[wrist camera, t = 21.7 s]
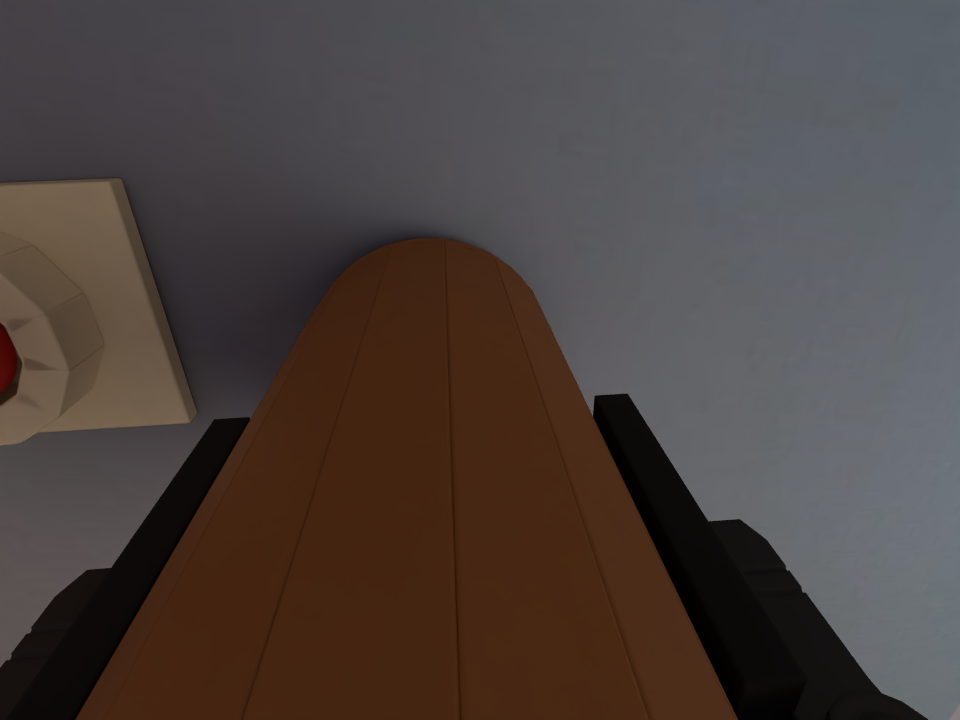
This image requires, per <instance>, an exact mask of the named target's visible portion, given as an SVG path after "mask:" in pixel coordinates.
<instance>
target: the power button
mask: <svg viewBox="0 0 960 720" xmlns="http://www.w3.org/2000/svg"><path fill="white" fill-rule="evenodd" d="M16 370H17V355H16V351H15V348H14V345H13V343H12V340H11V339H10V337H9V335H8V333H7V332H6V331H5V329H4V328H3V326H2V325H1V324H0V393H2V392H3V391H4V390H5V389H6V388H8V386H9V385H10V384H11V383H12V381H13V379H14V377H15V374H16Z"/></svg>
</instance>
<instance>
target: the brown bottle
mask: <svg viewBox="0 0 960 720" xmlns="http://www.w3.org/2000/svg"><path fill="white" fill-rule="evenodd" d="M76 720H738V719H737V717H736V715H735V713H734V710H733V708H732V706H731V704H730V702H729V700H728V698H727V696H726V694H725V692H724V690H723V687H722V685H721V683H720V681H719V679H718V677H717V675H716V673H715V671H714V669H713V667H712V665H711V662H710V660H709V658H708V656H707V654H706V652H705V650H704V648H703V646H702V644H701V642H700V639H699V637H698V635H697V633H696V631H695V629H694V627H693V625H692V623H691V621H690V619H689V616H688V614H687V612H686V610H685V608H684V606H683V604H682V602H681V600H680V598H679V596H678V594H677V591H676V589H675V587H674V585H673V583H672V581H671V579H670V577H669V575H668V573H667V571H666V568H665V566H664V564H663V562H662V560H661V558H660V556H659V554H658V552H657V550H656V548H655V545H654V543H653V541H652V539H651V537H650V535H649V533H648V531H647V529H646V527H645V525H644V523H643V520H642V518H641V516H640V514H639V512H638V510H637V508H636V506H635V504H634V502H633V500H632V497H631V495H630V493H629V491H628V489H627V487H626V485H625V483H624V481H623V479H622V477H621V474H620V472H619V470H618V468H617V466H616V464H615V462H614V460H613V458H612V456H611V454H610V452H609V449H608V447H607V445H606V443H605V441H604V439H603V437H602V435H601V433H600V431H599V429H598V426H597V424H596V422H595V420H594V418H593V416H592V414H591V412H590V410H589V408H588V406H587V403H586V401H585V399H584V397H583V395H582V393H581V391H580V389H579V387H578V385H577V383H576V381H575V378H574V376H573V374H572V372H571V370H570V368H569V366H568V364H567V362H566V360H565V358H564V355H563V353H562V351H561V349H560V347H559V345H558V343H557V341H556V339H555V337H554V335H553V332H552V330H551V328H550V326H549V324H548V322H547V320H546V318H545V316H544V314H543V312H542V310H541V307H540V305H539V303H538V301H537V299H536V297H535V295H534V293H533V291H532V290H531V288H530V287H529V286H528V285H527V284H526V283H525V282H524V280H523V279H522V278H521V277H520V276H519V275H518V274H517V273H516V272H515V271H514V270H513V269H512V268H511V267H510V266H508V265H507V264H506V263H504V262H503V261H502V260H500V259H499V258H497V257H496V256H494V255H492V254H490V253H488V252H487V251H485V250H483V249H480V248H477V247H475V246H472V245H470V244H467V243H463V242H459V241H454V240H448V239H440V238H417V239H411V240H404V241H399V242H396V243H392V244H389V245H385V246H383V247H381V248H379V249H376V250H374V251H372V252H370V253H368V254H367V255H365V256H363V257H362V258H360V259H358V260H357V261H355V262H354V263H353V264H352V265H351V266H349V267H348V268H347V269H346V270H345V271H344V272H343V273H342V274H341V275H340V276H339V277H338V278H337V279H336V280H335V282H334V283H333V284H332V286H331V287H330V289H329V290H328V292H327V293H326V295H325V296H324V297H323V299H322V300H321V301H320V302H319V304H318V305H317V306H316V308H315V310H314V311H313V313H312V315H311V317H310V318H309V320H308V322H307V323H306V325H305V327H304V329H303V330H302V332H301V334H300V335H299V337H298V339H297V341H296V342H295V344H294V346H293V347H292V349H291V351H290V353H289V354H288V356H287V358H286V359H285V361H284V363H283V365H282V366H281V368H280V370H279V371H278V373H277V375H276V377H275V378H274V380H273V382H272V383H271V385H270V387H269V389H268V390H267V392H266V394H265V395H264V397H263V399H262V401H261V402H260V404H259V406H258V407H257V409H256V411H255V413H254V414H253V416H252V418H251V419H250V421H249V423H248V425H247V426H246V428H245V430H244V431H243V433H242V435H241V437H240V438H239V440H238V442H237V443H236V445H235V447H234V449H233V450H232V452H231V454H230V455H229V457H228V459H227V461H226V462H225V464H224V466H223V467H222V469H221V471H220V473H219V474H218V476H217V478H216V479H215V481H214V483H213V485H212V486H211V488H210V490H209V491H208V493H207V495H206V497H205V498H204V500H203V502H202V503H201V505H200V507H199V509H198V510H197V512H196V514H195V515H194V517H193V519H192V521H191V522H190V524H189V526H188V527H187V529H186V531H185V533H184V534H183V536H182V538H181V539H180V541H179V543H178V545H177V546H176V548H175V550H174V551H173V553H172V555H171V557H170V558H169V560H168V562H167V563H166V565H165V567H164V569H163V570H162V572H161V574H160V575H159V577H158V579H157V581H156V582H155V584H154V586H153V587H152V589H151V591H150V593H149V594H148V596H147V598H146V600H145V601H144V603H143V605H142V606H141V608H140V610H139V612H138V613H137V615H136V617H135V618H134V620H133V622H132V624H131V625H130V627H129V629H128V630H127V632H126V634H125V636H124V637H123V639H122V641H121V642H120V644H119V646H118V648H117V649H116V651H115V653H114V654H113V656H112V658H111V660H110V661H109V663H108V665H107V666H106V668H105V670H104V672H103V673H102V675H101V677H100V678H99V680H98V682H97V684H96V685H95V687H94V689H93V690H92V692H91V694H90V696H89V697H88V699H87V701H86V702H85V704H84V706H83V708H82V709H81V711H80V713H79V714H78V716H77V718H76Z"/></svg>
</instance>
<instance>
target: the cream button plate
mask: <svg viewBox="0 0 960 720" xmlns="http://www.w3.org/2000/svg"><path fill="white" fill-rule="evenodd" d="M0 324H1V325H2V326H3V328H4V329H5V331H6V332H7V333H8V335H9V337H10V339H11V340H12V343H13V345H14V348H15V351H16V355H17V370H16V374H15V377H14V379H13V381H12V383H11V384H10V385H9V386H8V388H6V389H5V390H4V391H3V392H2V393H0V445H10V444H18V443H22V442H24V441H25V440H27V439H28V438H30V437H31V436H33V435H34V434H36V433H39V432H55V431H71V430H87V429H103V428H119V427H135V426H151V425H168V424H184V423H190V422H191V420H192V419H193V418H194V416H195V415H196V414H197V411H196V408H195V405H194V401H193V398H192V395H191V392H190V389H189V386H188V383H187V380H186V377H185V374H184V371H183V368H182V364H181V361H180V358H179V355H178V352H177V349H176V346H175V343H174V340H173V337H172V334H171V330H170V327H169V324H168V321H167V318H166V315H165V312H164V309H163V306H162V303H161V300H160V296H159V293H158V290H157V287H156V284H155V281H154V278H153V275H152V272H151V269H150V266H149V262H148V259H147V256H146V253H145V250H144V247H143V244H142V241H141V238H140V235H139V232H138V229H137V225H136V222H135V219H134V216H133V213H132V210H131V207H130V204H129V201H128V198H127V195H126V191H125V188H124V185H123V182H122V180H121V179H119V178H105V179H80V180H55V181H30V182H5V183H0Z"/></svg>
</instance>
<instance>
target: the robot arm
mask: <svg viewBox="0 0 960 720" xmlns="http://www.w3.org/2000/svg"><path fill="white" fill-rule="evenodd" d="M593 418H594V420H595V422H596V424H597V426H598V429H599V431H600V433H601V435H602V437H603V439H604V441H605V443H606V445H607V447H608V449H609V452H610V454H611V456H612V458H613V460H614V462H615V464H616V466H617V468H618V470H619V472H620V474H621V477H622V479H623V481H624V483H625V485H626V487H627V489H628V491H629V493H630V495H631V497H632V500H633V502H634V504H635V506H636V508H637V510H638V512H639V514H640V516H641V518H642V520H643V523H644V525H645V527H646V529H647V531H648V533H649V535H650V537H651V539H652V541H653V543H654V545H655V548H656V550H657V552H658V554H659V556H660V558H661V560H662V562H663V564H664V566H665V568H666V571H667V573H668V575H669V577H670V579H671V581H672V583H673V585H674V587H675V589H676V591H677V594H678V596H679V598H680V600H681V602H682V604H683V606H684V608H685V610H686V612H687V614H688V616H689V619H690V621H691V623H692V625H693V627H694V629H695V631H696V633H697V635H698V637H699V639H700V642H701V644H702V646H703V648H704V650H705V652H706V654H707V656H708V658H709V660H710V662H711V665H712V667H713V669H714V671H715V673H716V675H717V677H718V679H719V681H720V683H721V685H722V687H723V690H724V692H725V694H726V696H727V698H728V700H729V702H730V704H731V706H732V708H733V710H734V713H735V715H736V717H737V719H738V720H928V719H927V718H925V717H924V716H922V715H921V714H919V713H918V712H916V711H915V710H914V709H912V708H911V707H909V706H908V705H906V704H905V703H903V702H902V701H899V700H897V699H894V698H892V697H889V696H887V695H884V694H882V693H881V692H880V691H879V690H878V689H877V687H876V686H875V685H874V684H873V683H872V682H871V680H870V679H869V678H868V677H867V675H866V674H865V673H864V671H863V670H862V669H861V667H860V666H859V665H858V663H857V662H856V660H855V659H854V658H853V656H852V655H851V654H850V652H849V651H848V650H847V648H846V647H845V646H844V644H843V643H842V641H841V640H840V639H839V637H838V636H837V635H836V633H835V632H834V631H833V629H832V628H831V627H830V625H829V624H828V622H827V621H826V620H825V618H824V617H823V616H822V614H821V613H820V612H819V610H818V609H817V608H816V606H815V605H814V603H813V602H812V601H811V599H810V598H809V597H808V595H807V594H806V593H803V592H802V589H801V586H800V584H799V583H798V582H797V580H796V579H795V578H794V576H793V575H792V574H791V572H790V571H787V570H786V565H785V564H784V563H783V561H782V560H781V559H780V557H779V556H778V555H777V553H776V552H775V551H774V549H773V548H772V546H771V545H770V544H769V542H768V541H767V540H766V539H765V538H763V537H762V536H761V535H760V534H758V533H757V532H756V531H754V530H753V529H752V528H750V527H749V526H748V525H747V524H745V523H744V522H743V521H741V520H740V519H737V520H723V521H710V522H708V520H707V519H706V517H705V516H704V514H703V512H702V511H701V509H700V508H699V506H698V504H697V503H696V501H695V500H694V498H693V497H692V495H691V493H690V492H689V490H688V489H687V487H686V485H685V484H684V482H683V481H682V479H681V478H680V476H679V474H678V473H677V471H676V470H675V468H674V466H673V465H672V463H671V462H670V460H669V459H668V457H667V455H666V454H665V452H664V451H663V449H662V447H661V446H660V444H659V443H658V441H657V440H656V438H655V436H654V435H653V433H652V432H651V430H650V428H649V427H648V425H647V424H646V422H645V421H644V419H643V417H642V416H641V414H640V413H639V411H638V409H637V408H636V406H635V405H634V403H633V401H632V400H631V398H630V397H629V395H628V394H615V395H598V396H595V399H594V412H593ZM249 421H250V417H246V418H230V419H214V421H213V422H212V424H211V425H210V426H209V428H208V429H207V431H206V432H205V434H204V435H203V437H202V438H201V439H200V441H199V442H198V444H197V445H196V447H195V448H194V449H193V451H192V452H191V454H190V455H189V457H188V458H187V460H186V461H185V462H184V464H183V465H182V467H181V468H180V470H179V471H178V473H177V474H176V475H175V477H174V478H173V480H172V481H171V483H170V484H169V485H168V487H167V488H166V490H165V491H164V493H163V494H162V496H161V497H160V498H159V500H158V501H157V503H156V504H155V506H154V507H153V509H152V510H151V511H150V513H149V514H148V516H147V517H146V519H145V520H144V521H143V523H142V524H141V526H140V527H139V529H138V530H137V532H136V533H135V534H134V536H133V537H132V539H131V540H130V542H129V543H128V545H127V546H126V547H125V549H124V550H123V552H122V553H121V555H120V556H119V557H118V559H117V560H116V562H115V563H114V565H113V566H112V568H106V569H93V570H87V571H85V572H84V573H83V574H82V575H81V576H79V577H78V578H77V579H76V580H75V581H73V582H72V583H71V584H70V585H69V586H67V587H66V588H65V589H64V590H62V591H61V592H60V593H59V594H58V595H56V596H55V597H54V599H53V600H52V601H51V603H50V604H49V605H48V606H47V608H46V609H45V610H44V612H43V613H42V614H41V616H40V617H39V618H38V620H37V621H36V622H35V623H34V625H33V626H32V627H31V628H32V631H31V633H29V634H26V635H25V636H24V638H23V639H22V640H21V642H20V643H19V644H18V646H17V647H16V648H15V650H14V651H13V652H12V653H11V654H12V657H11V659H10V660H7V661H5V663H4V664H3V665H2V666H1V668H0V720H76V718H77V716H78V714H79V713H80V711H81V709H82V708H83V706H84V704H85V702H86V701H87V699H88V697H89V696H90V694H91V692H92V690H93V689H94V687H95V685H96V684H97V682H98V680H99V678H100V677H101V675H102V673H103V672H104V670H105V668H106V666H107V665H108V663H109V661H110V660H111V658H112V656H113V654H114V653H115V651H116V649H117V648H118V646H119V644H120V642H121V641H122V639H123V637H124V636H125V634H126V632H127V630H128V629H129V627H130V625H131V624H132V622H133V620H134V618H135V617H136V615H137V613H138V612H139V610H140V608H141V606H142V605H143V603H144V601H145V600H146V598H147V596H148V594H149V593H150V591H151V589H152V587H153V586H154V584H155V582H156V581H157V579H158V577H159V575H160V574H161V572H162V570H163V569H164V567H165V565H166V563H167V562H168V560H169V558H170V557H171V555H172V553H173V551H174V550H175V548H176V546H177V545H178V543H179V541H180V539H181V538H182V536H183V534H184V533H185V531H186V529H187V527H188V526H189V524H190V522H191V521H192V519H193V517H194V515H195V514H196V512H197V510H198V509H199V507H200V505H201V503H202V502H203V500H204V498H205V497H206V495H207V493H208V491H209V490H210V488H211V486H212V485H213V483H214V481H215V479H216V478H217V476H218V474H219V473H220V471H221V469H222V467H223V466H224V464H225V462H226V461H227V459H228V457H229V455H230V454H231V452H232V450H233V449H234V447H235V445H236V443H237V442H238V440H239V438H240V437H241V435H242V433H243V431H244V430H245V428H246V426H247V425H248V423H249Z"/></svg>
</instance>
